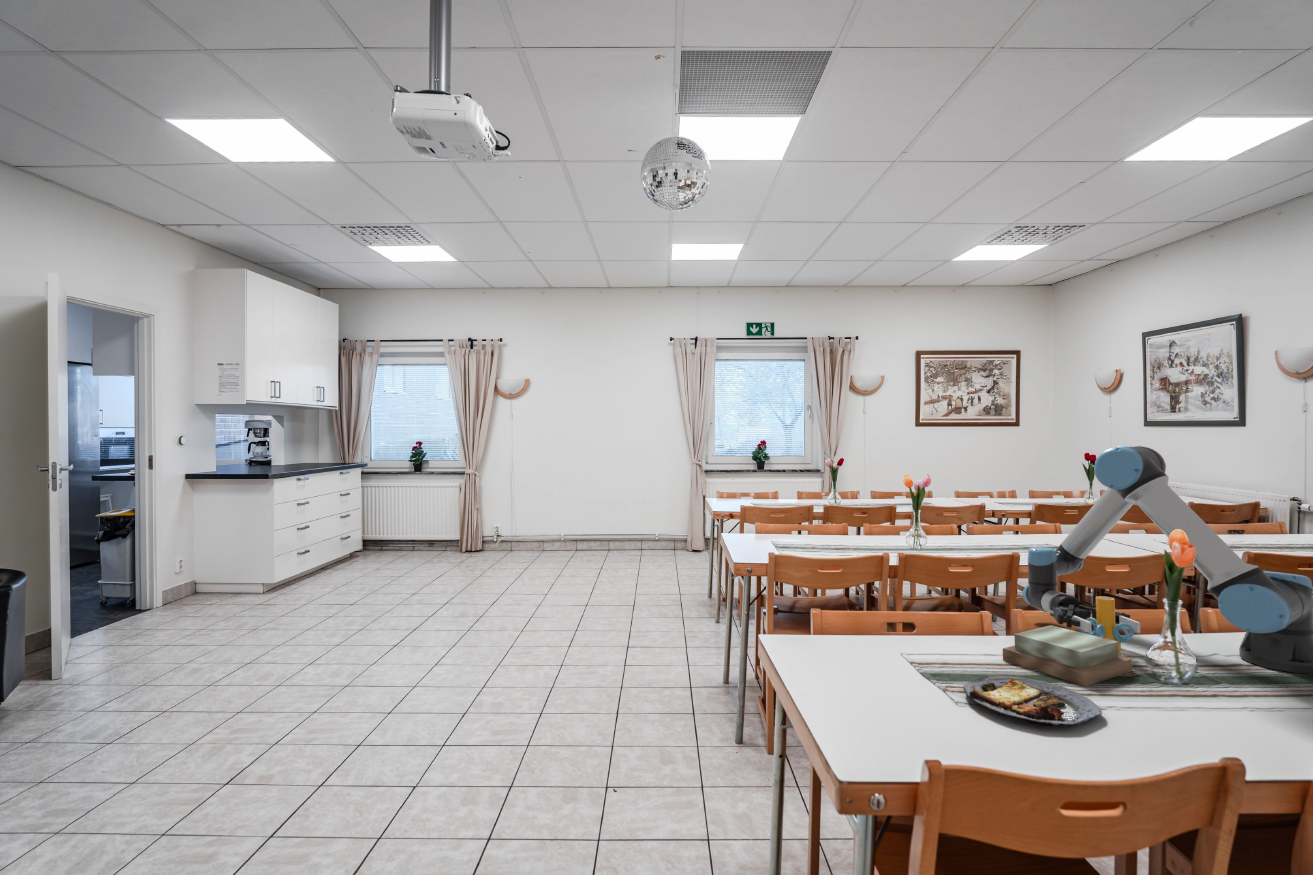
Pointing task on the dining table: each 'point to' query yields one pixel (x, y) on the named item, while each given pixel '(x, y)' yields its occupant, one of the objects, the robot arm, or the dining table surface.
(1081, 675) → the plinth
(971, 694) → the food plate
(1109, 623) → the upright yellow plank
